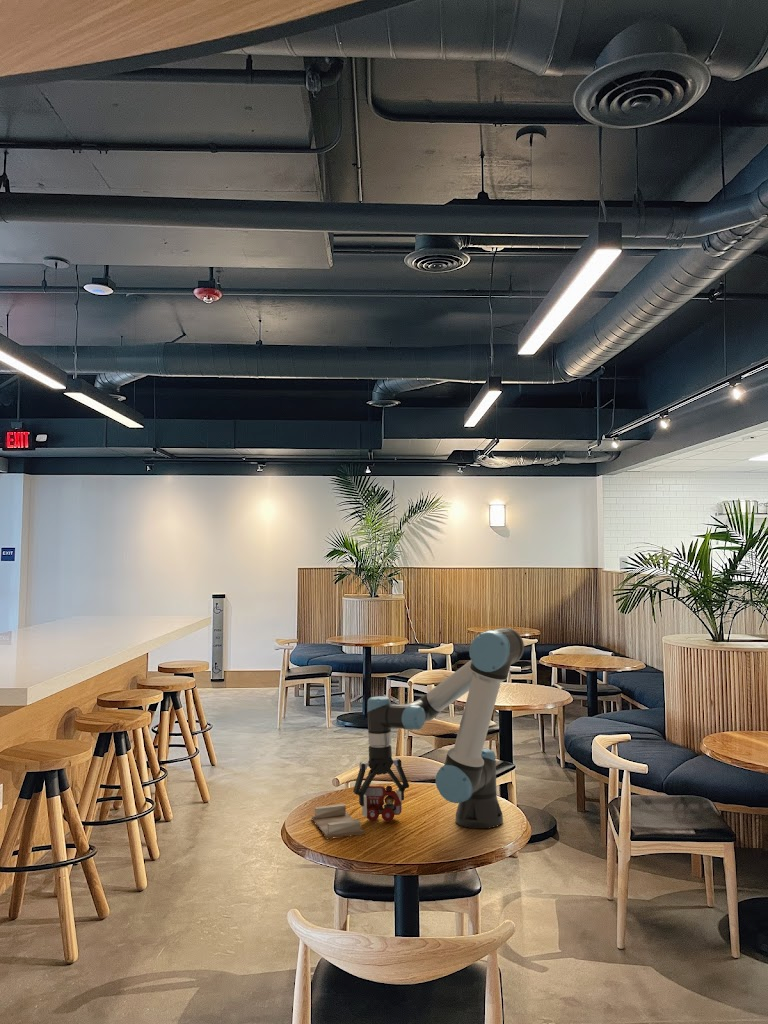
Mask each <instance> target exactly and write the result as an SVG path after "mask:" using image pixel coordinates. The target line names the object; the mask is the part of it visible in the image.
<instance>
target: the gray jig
mask: <svg viewBox="0 0 768 1024" xmlns="http://www.w3.org/2000/svg"><path fill="white" fill-rule="evenodd" d="M346 807H347V806H346V804H345V803H339V804H331V805H324V806H315V807H314V816H311V820H312V819H313V821H314V822H315V823H316V825H317V826H318V827H319V829H320V830H321V831H322V833H323V834H324V835H325V837H326V838H333V837H341V838H344V837H343V836H348V837H351V836H350V835H355V836H360V835H364V834H365V830H364V829H363V828H362V827H361V820H360V819H359V818H356V819H355V818H354V819H353V817H352V816H351V815H350V814H349V813H348V812H347V810H346ZM313 821H312V822H313ZM314 822H313V823H314ZM315 823H314V824H315ZM316 825H315V826H316ZM317 826H316V827H317ZM318 827H317V828H318ZM319 829H318V830H319ZM320 830H319V831H320ZM321 831H320V832H321ZM322 833H321V834H322ZM323 834H322V835H323ZM324 835H323V836H324ZM325 837H324V838H325ZM326 838H325V839H326Z"/></svg>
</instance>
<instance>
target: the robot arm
mask: <svg viewBox="0 0 768 1024" xmlns="http://www.w3.org/2000/svg"><path fill="white" fill-rule="evenodd" d="M524 650H525V645H524V640H523V637H522V636H521V635H520V633H519V632H518V631H516V630H515V629H512V628H509V627H501V628H496V629H489V630H484V631H483V632H481V633H479V634H477V635H476V636H475V637H474V638H473V640H472V642H471V643H470V646H469V658H470V660H469V661H468V662H466V663H464V665H462V666H461V667H459V668H458V669H457V670H455V671H454V672H453V673H452V674H450V675H449V676H448V677H446V678H445V679H444V680H443V681H441V682H439V684H437V685H435V687H433V688H432V689H430V690H429V691H428V692H427V693H426V694H424V695H422V697H420V698H418V699H417V700H415V701H411V702H408V703H404V704H397V703H396V704H394V703H391V700H390V697H388V696H385V695H384V696H383V695H381V696H379V695H378V696H377V695H376V696H371V697H369V698H368V699H367V706H366V707H367V711H366V713H367V730H368V732H367V733H368V734H367V736H368V738H367V739H368V740H367V741H368V762H360V763H359V770H358V773H357V776H356V781H355V785H354V787H353V789H352V792H353V793H354V794H355V795H356V796H358V804H359V806H361V807H362V808H361V809H362V810H361V811H362V814H361V815H362V816H363V817H365V818H367V797H366V795H365V792H366V790H367V789H368V787H369V786H371V783H372V782H373V779H375V777H376V776H380V775H386V774H388V775H389V777H390V779H391V780H392V781H393V783H394V784H395V786H397V788H398V789H395V792H396V794H397V796H398V798H399V800H400V802H401V813H402V812H403V807H402V805H403V803H402V801H404V800H405V792H406V789H409V787H410V785H409V782H408V779H407V777H406V774H405V771H404V769H403V766H402V760H401V759H400V758H398V757H396V758H394V759H393V757H392V756H393V755H392V745H391V744H392V732H391V731H392V730H391V729H392V728H394V729H402V730H409V731H412V730H418V731H419V730H421V729H422V728H423V726H424V725H425V723H426V722H428V721H432V720H433V719H435V718H436V717H437V716H438V715H439V714H440V713H441V712H442V711H443V710H445V709H446V708H447V707H449V706H450V705H451V704H453V703H454V702H456V701H457V700H458V699H459V698H461V697H462V696H464V695H465V694H467V693H468V694H467V698H466V701H465V705H464V709H463V713H462V715H461V720H460V723H459V728H458V731H457V734H456V738H455V743H454V746H453V747H452V748H450V749H448V751H447V754H446V756H445V761H444V764H443V766H441V767H440V768H439V770H438V771H437V773H436V775H435V787H436V789H437V791H438V792H439V794H440V795H441V797H442V798H443V799H445V800H446V801H448V802H449V803H451V804H453V803H454V804H458V805H457V807H456V810H455V811H456V812H455V823H456V822H457V823H458V824H457V823H456V824H457V825H459V826H461V827H463V826H464V827H465V828H467V827H469V828H468V829H473V828H488V829H490V828H489V827H493V826H497V825H500V824H501V823H502V822H503V823H504V815H503V812H502V809H501V807H500V802H499V800H498V795H497V764H496V763H497V760H496V754H495V752H494V750H492V749H489V748H484V745H485V742H486V740H487V739H486V738H487V735H488V732H489V731H488V730H489V727H490V723H491V720H492V716H493V713H494V709H495V706H496V705H495V704H496V702H497V701H496V700H497V698H498V694H499V692H500V691H499V689H500V687H501V684H502V683H503V682H505V681H506V680H508V676H509V671H510V669H511V665H513V664H515V663H518V661H519V660H520V659H521V658H522V657H523V655H524ZM393 765H394V766H395V767H396V770H397V773H398V775H399V777H400V780H401V782H402V783H401V782H400V780H399V779H398V777H397V776H396V775H395V773H394V772H393V770H392V769H391V768H392V766H393ZM368 768H369V769H370V770H368ZM367 770H368V771H369V772H368V775H367V776H366V778H365V775H366V771H367ZM364 778H365V780H364ZM503 823H502V824H503ZM502 824H501V825H502ZM501 825H500V826H501ZM497 827H498V826H497Z"/></svg>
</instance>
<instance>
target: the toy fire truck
mask: <svg viewBox="0 0 768 1024" xmlns="http://www.w3.org/2000/svg"><path fill="white" fill-rule="evenodd" d="M365 795H366V797H367V817H366V819H367V820H368V821H370V822H376V821H377V820H378V819H379V816H380V815H381V818H382V820H384V822H388V823H389V822H392V821H393V820H394V818H395V816H400V814H401V813H402V812H401V802H400V800H399V798H398V796H397V794H396V790H393V787H392V786H391V785H387V786H386V788H385V786H382V785H369V787H368V789H367V790H366V792H365Z"/></svg>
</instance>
